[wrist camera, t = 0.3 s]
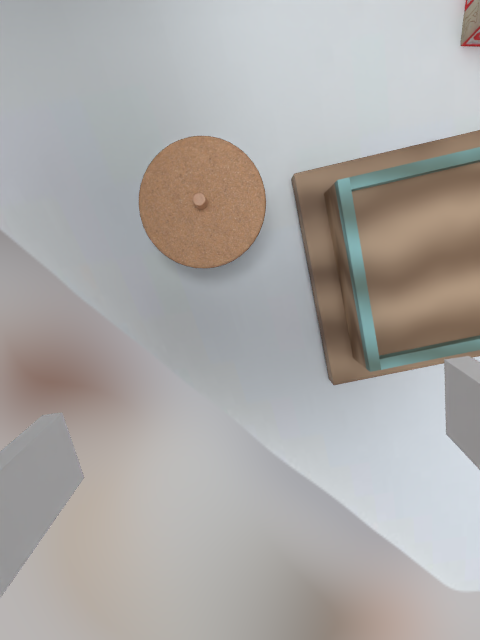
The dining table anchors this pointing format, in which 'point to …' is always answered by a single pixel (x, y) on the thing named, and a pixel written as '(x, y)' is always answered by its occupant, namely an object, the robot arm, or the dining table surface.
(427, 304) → the base
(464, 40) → the stack of blocks
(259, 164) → the dining table surface
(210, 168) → the lidded jar
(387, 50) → the dining table surface
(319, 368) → the dining table surface
